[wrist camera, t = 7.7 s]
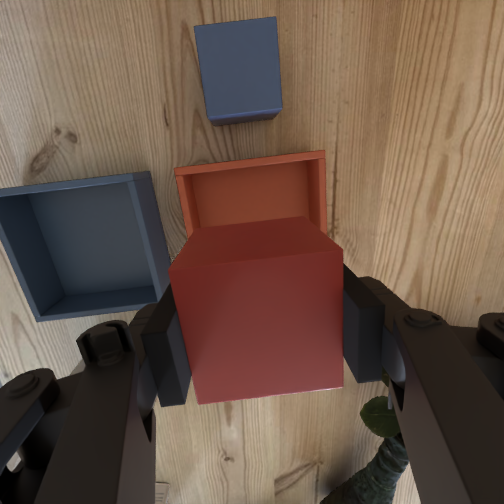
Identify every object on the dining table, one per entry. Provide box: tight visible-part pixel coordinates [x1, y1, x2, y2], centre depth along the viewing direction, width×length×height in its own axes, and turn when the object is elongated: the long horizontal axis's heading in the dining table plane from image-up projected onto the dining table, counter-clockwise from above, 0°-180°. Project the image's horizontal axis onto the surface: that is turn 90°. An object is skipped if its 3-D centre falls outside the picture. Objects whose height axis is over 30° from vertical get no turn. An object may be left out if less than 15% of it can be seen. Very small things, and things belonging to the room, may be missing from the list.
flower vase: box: [320, 366, 409, 504], centre depth 33 cm, size 16×18×35 cm
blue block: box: [194, 17, 283, 126], centre depth 21 cm, size 6×6×6 cm
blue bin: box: [0, 171, 171, 322], centre depth 26 cm, size 12×12×4 cm
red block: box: [168, 216, 344, 405], centre depth 12 cm, size 6×6×6 cm
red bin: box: [174, 150, 327, 239], centre depth 26 cm, size 12×12×4 cm
